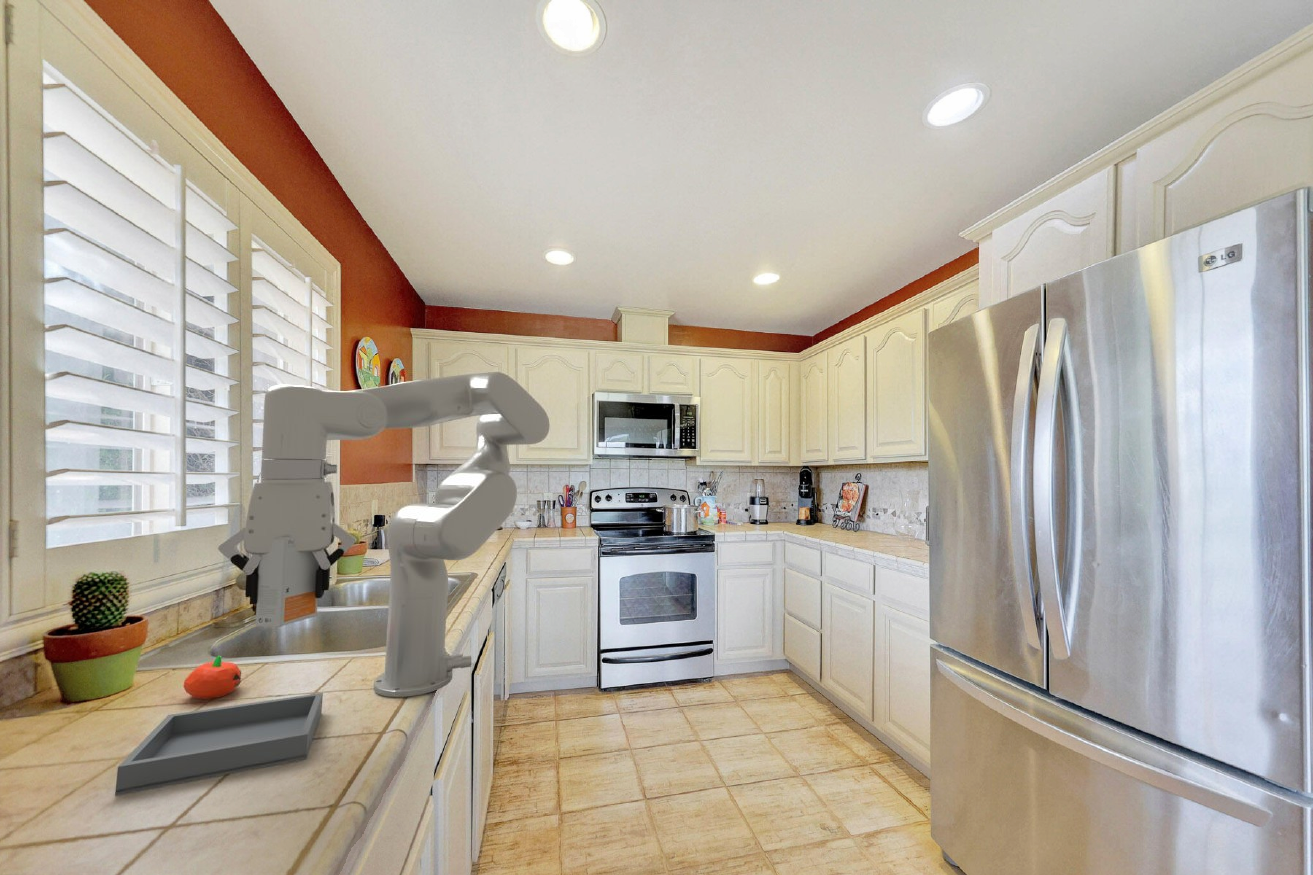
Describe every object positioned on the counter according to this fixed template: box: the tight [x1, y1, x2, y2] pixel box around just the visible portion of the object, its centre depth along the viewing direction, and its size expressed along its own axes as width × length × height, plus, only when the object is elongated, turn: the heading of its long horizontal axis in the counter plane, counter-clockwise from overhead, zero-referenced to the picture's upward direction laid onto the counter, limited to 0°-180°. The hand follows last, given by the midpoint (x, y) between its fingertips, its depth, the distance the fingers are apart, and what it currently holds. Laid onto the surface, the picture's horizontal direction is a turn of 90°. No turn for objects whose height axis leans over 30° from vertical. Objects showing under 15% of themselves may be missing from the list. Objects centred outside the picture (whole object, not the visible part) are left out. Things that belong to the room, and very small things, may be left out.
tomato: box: [183, 655, 242, 700], centre depth 84 cm, size 7×8×6 cm
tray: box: [114, 692, 324, 797], centre depth 68 cm, size 18×14×3 cm
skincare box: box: [255, 537, 319, 628], centre depth 72 cm, size 6×4×12 cm
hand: (288, 597), depth 72 cm, fingers closed on skincare box, 6 cm apart
